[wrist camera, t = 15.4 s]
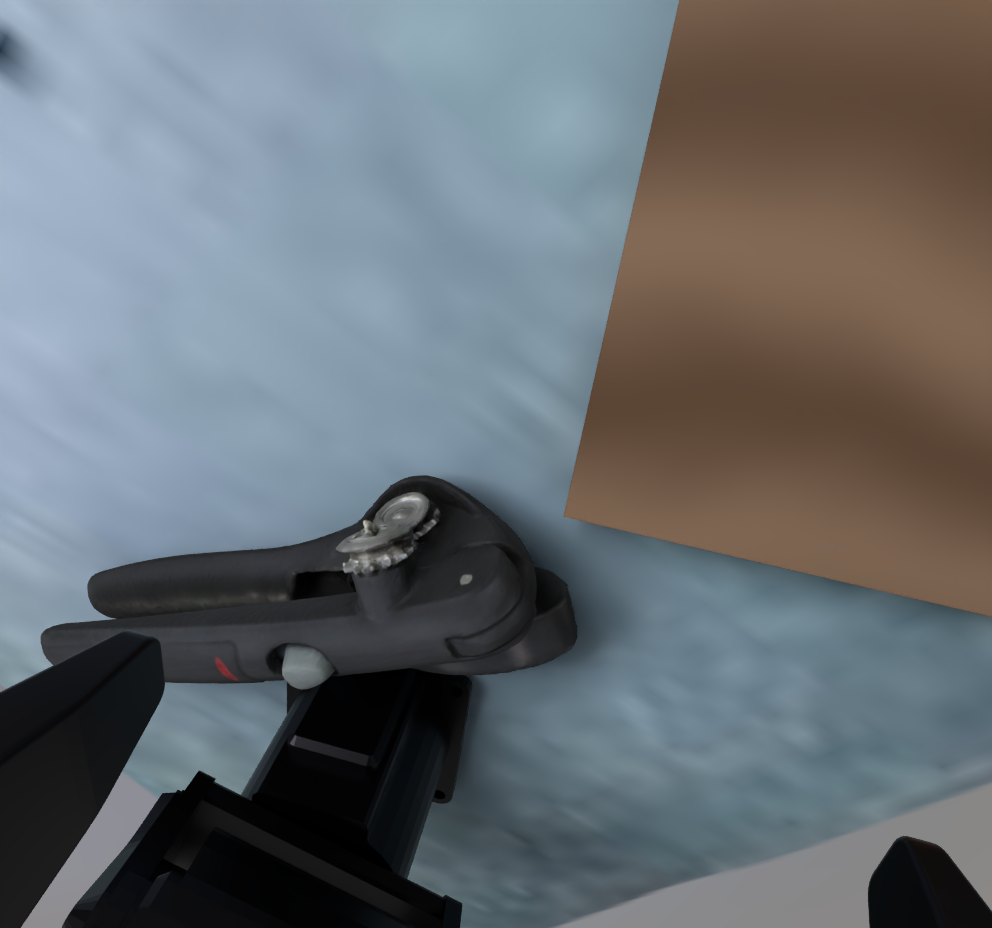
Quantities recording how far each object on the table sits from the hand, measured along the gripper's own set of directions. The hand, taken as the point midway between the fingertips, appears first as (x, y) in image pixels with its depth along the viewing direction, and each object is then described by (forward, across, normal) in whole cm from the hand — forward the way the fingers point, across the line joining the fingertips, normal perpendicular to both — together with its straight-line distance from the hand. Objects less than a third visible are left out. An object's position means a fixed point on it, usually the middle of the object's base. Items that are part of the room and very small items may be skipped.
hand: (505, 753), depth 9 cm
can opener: (+13, +8, +9) cm, 18 cm away
